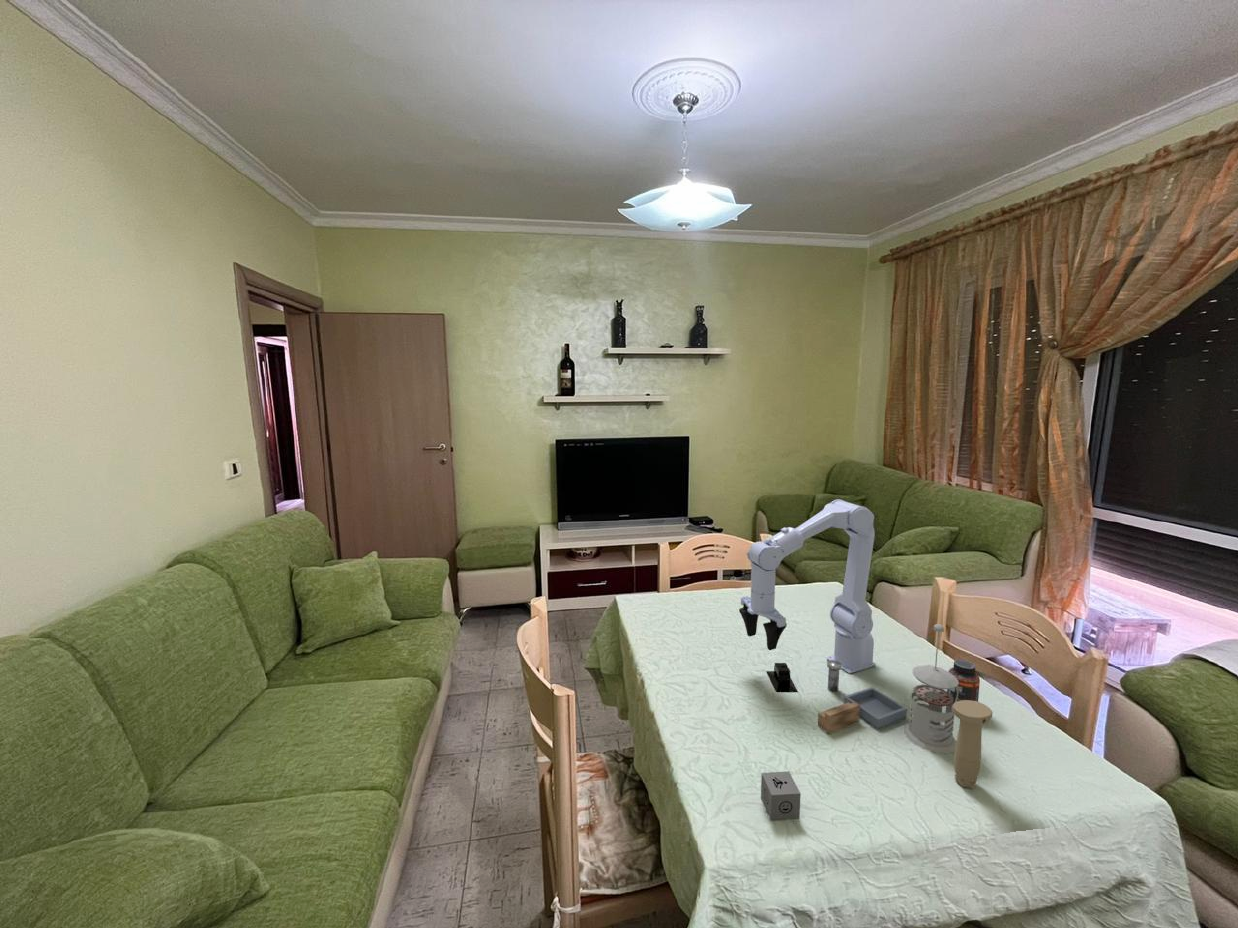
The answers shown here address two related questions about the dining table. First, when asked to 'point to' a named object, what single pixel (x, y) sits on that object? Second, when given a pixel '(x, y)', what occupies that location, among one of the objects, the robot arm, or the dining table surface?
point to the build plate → (781, 678)
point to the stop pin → (833, 675)
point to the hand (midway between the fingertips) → (761, 641)
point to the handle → (969, 740)
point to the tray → (877, 708)
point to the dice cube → (780, 796)
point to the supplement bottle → (965, 681)
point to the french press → (932, 708)
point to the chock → (839, 717)
